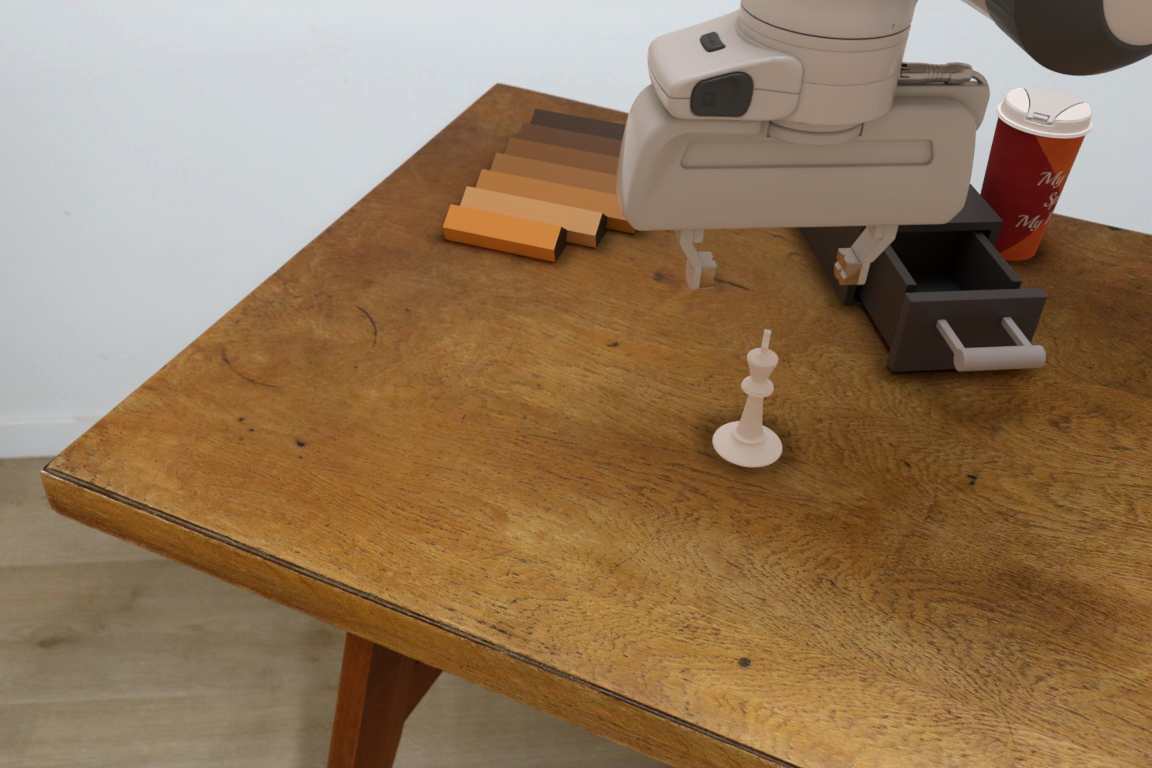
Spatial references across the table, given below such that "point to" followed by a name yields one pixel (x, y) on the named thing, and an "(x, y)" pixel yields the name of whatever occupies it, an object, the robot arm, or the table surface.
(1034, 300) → the drawer
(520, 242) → the pan flute
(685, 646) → the table surface
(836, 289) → the small storage cabinet
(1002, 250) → the paper cup
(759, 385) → the chess piece
